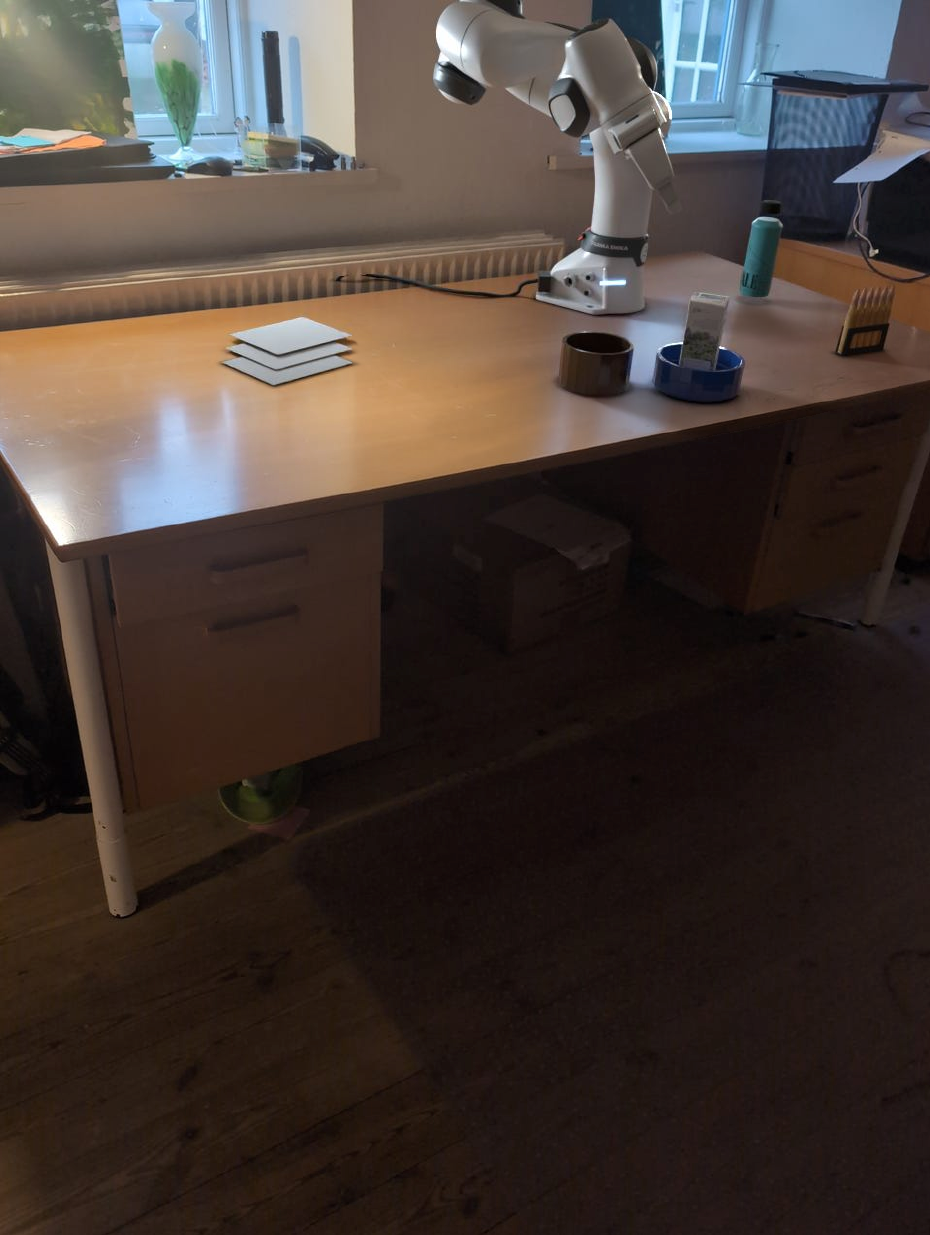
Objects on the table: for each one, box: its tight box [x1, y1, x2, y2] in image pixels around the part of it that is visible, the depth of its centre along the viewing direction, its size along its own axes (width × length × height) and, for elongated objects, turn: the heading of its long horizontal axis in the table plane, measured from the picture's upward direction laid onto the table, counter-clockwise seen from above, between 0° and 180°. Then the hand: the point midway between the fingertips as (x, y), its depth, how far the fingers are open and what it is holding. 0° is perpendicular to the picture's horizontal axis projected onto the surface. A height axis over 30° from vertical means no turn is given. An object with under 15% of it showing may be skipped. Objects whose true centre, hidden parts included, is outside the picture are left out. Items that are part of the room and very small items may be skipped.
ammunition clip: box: [834, 284, 896, 357], centre depth 185 cm, size 11×2×12 cm, turn 117°
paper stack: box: [221, 316, 353, 386], centre depth 173 cm, size 23×25×1 cm
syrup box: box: [679, 291, 730, 371], centre depth 163 cm, size 6×6×14 cm
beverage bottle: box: [739, 199, 784, 298], centre depth 209 cm, size 6×7×20 cm
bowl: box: [651, 342, 746, 403], centre depth 166 cm, size 14×14×6 cm
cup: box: [557, 331, 635, 398], centre depth 165 cm, size 12×12×7 cm
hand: (676, 212), depth 158 cm, fingers open, 8 cm apart
